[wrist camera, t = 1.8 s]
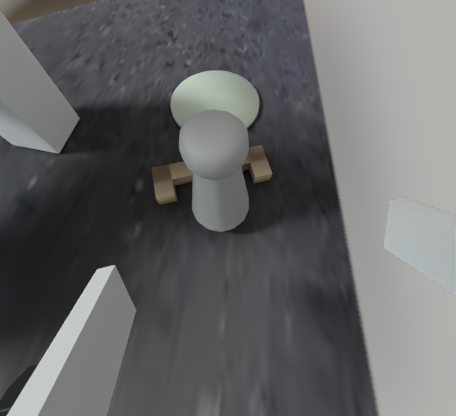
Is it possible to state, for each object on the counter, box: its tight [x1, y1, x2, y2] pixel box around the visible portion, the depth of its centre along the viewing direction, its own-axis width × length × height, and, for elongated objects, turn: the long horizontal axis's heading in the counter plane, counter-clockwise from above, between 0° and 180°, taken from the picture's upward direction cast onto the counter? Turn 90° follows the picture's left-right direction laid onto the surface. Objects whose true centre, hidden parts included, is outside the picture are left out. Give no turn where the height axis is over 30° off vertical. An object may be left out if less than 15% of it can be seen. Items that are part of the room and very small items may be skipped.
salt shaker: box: [179, 109, 249, 232], centre depth 18 cm, size 6×6×13 cm
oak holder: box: [152, 145, 272, 205], centre depth 25 cm, size 4×13×2 cm, turn 104°
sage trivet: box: [171, 71, 259, 129], centre depth 30 cm, size 12×12×1 cm
